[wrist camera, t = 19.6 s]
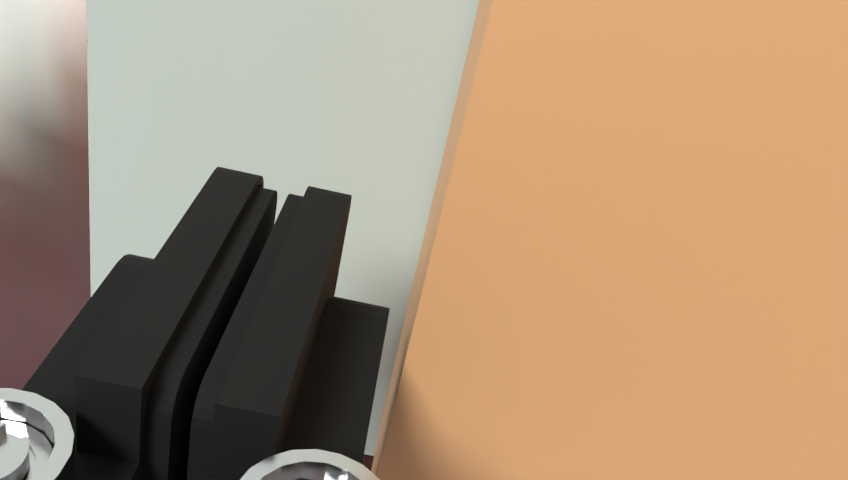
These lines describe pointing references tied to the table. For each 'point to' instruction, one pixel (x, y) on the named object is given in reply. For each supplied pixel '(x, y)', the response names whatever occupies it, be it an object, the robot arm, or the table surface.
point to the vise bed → (276, 124)
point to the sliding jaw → (634, 250)
